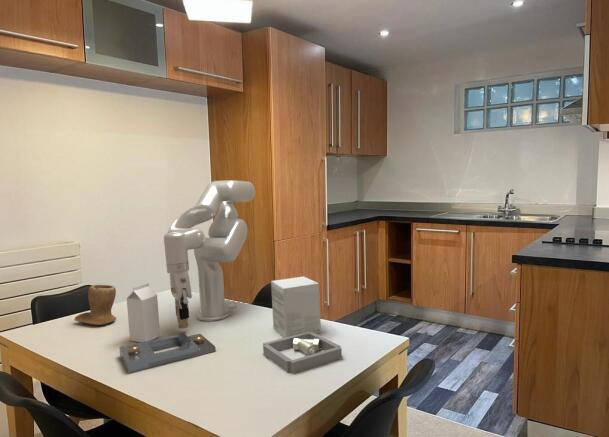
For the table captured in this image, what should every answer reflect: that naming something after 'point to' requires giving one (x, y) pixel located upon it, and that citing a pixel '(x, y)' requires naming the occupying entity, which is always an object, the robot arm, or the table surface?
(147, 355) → the upper end link
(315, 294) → the supplement box
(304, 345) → the pipe fitting
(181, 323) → the handle
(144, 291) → the milk carton
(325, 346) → the parts fence
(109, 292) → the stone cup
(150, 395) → the table surface
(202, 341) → the lower end link
